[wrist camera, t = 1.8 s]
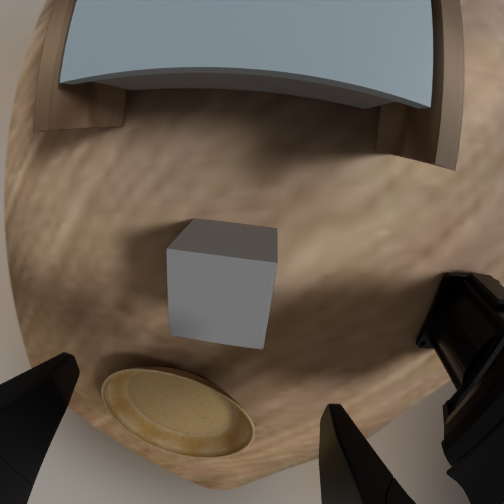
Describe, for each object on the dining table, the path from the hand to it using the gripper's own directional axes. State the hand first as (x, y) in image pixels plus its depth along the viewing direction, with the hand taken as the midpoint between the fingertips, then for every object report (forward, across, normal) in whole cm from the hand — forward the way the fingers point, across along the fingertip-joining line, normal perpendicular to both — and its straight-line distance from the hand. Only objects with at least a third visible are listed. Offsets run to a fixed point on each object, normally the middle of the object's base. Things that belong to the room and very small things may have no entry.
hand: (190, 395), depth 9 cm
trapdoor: (+9, 0, -16) cm, 18 cm away
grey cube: (+11, 0, 0) cm, 11 cm away
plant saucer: (+11, +4, +16) cm, 20 cm away
